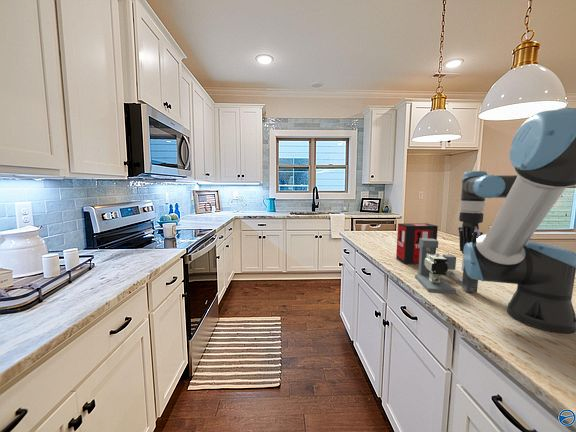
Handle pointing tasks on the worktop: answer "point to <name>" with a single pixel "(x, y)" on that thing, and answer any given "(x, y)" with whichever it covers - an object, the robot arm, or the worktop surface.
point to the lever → (465, 281)
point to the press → (423, 272)
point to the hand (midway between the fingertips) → (466, 271)
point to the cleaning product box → (413, 240)
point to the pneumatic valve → (435, 266)
